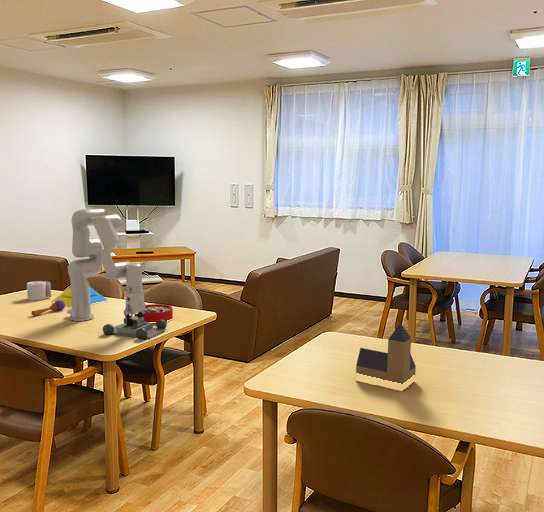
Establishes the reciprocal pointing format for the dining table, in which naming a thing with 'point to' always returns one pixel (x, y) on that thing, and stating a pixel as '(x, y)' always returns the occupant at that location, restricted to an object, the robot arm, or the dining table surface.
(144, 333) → the chassis bay
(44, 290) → the toilet tissue
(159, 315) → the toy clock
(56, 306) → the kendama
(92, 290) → the pyramid toy
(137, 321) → the engine block
